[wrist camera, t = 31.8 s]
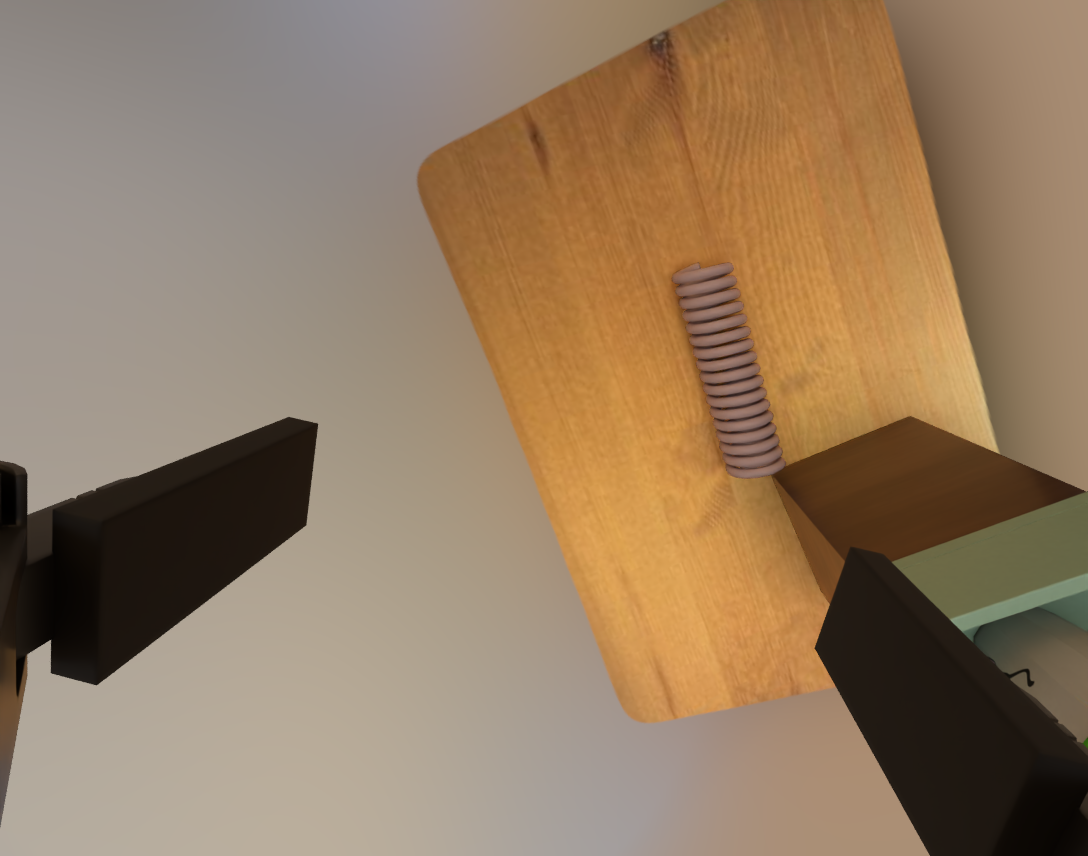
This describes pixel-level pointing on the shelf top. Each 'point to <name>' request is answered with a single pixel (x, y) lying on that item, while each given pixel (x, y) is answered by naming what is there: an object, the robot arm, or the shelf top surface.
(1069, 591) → the bin
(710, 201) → the shelf top surface
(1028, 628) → the cup
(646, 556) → the shelf top surface
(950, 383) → the shelf top surface
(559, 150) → the shelf top surface
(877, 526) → the stand
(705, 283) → the coil
